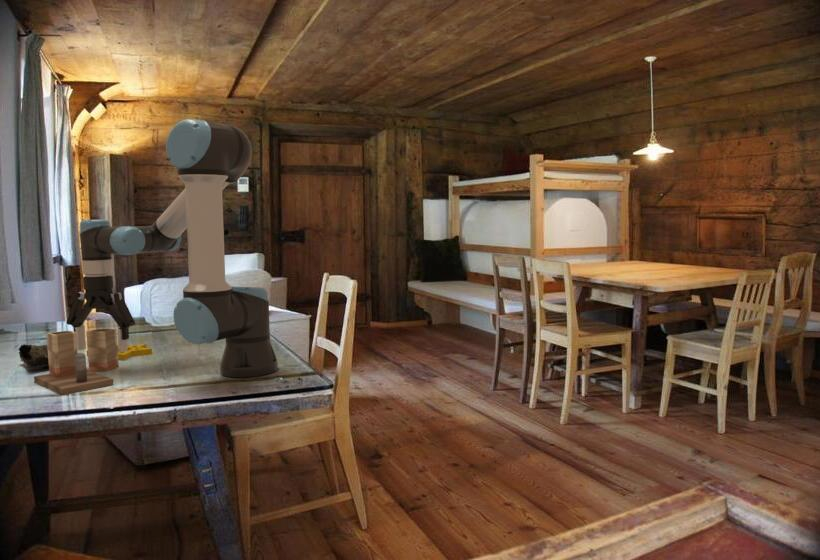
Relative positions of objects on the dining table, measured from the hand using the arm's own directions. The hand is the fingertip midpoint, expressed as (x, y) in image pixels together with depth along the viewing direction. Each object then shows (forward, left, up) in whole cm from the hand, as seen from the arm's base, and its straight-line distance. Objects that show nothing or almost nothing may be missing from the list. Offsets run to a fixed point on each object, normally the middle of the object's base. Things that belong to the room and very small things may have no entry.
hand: (102, 350), depth 179 cm
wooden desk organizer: (-11, +12, -5) cm, 17 cm away
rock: (+18, +8, -6) cm, 20 cm away
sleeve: (0, 0, -5) cm, 5 cm away
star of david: (+16, -11, -6) cm, 20 cm away
